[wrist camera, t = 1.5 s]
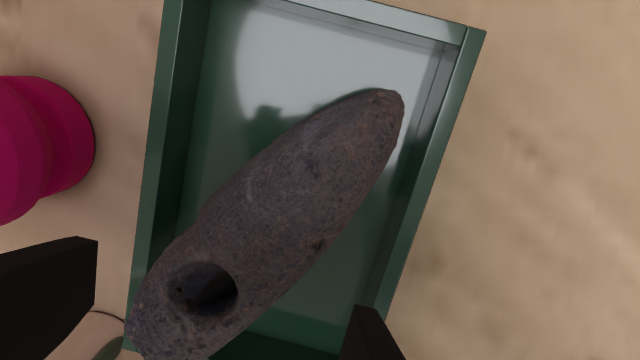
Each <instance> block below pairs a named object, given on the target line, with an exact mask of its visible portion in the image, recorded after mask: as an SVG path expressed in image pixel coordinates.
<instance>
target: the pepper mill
mask: <svg viewBox="0 0 640 360" xmlns="http://www.w3.org/2000/svg"><path fill="white" fill-rule="evenodd" d="M94 149H95V147H94V136H93V132H92V129H91V125H90V121H89V120H88V118H87V116H86V114H85V113H84V111H83V109H82V108H81V106H80V104H79V103H78V102H77V101H76V100H75V99H74V98H73V97H72V96H71V95H70V94H69V93H68V92H66V91H65V90H64V89H62V88H61V87H59V86H58V85H56V84H54V83H52V82H50V81H48V80H45V79H42V78H38V77H32V76H0V226H1V225H4V224H7V223H9V222H11V221H13V220H16V219H17V218H19V217H21V216H23V215H24V214H25V213H26V212H27V211H29V210H30V209H31V208H32V207H33V206H34V205H35V204H36V202H37V201H38V200H39V199H41V198H44V197H47V196H50V195H52V194H55V193H58V192H61V191H63V190H66V189H69V188H71V187H72V186H74V185H75V184H77V183H79V182H80V180H81V179H82V178H83V177H84V176H85V175H86V174H87V172H88V170H89V169H90V167H91V164H92V160H93V155H94Z"/></svg>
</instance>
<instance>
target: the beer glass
mask: <svg viewBox="0 0 640 360" xmlns="http://www.w3.org/2000/svg"><path fill="white" fill-rule="evenodd" d="M124 324H125V323H123V322H122V321H120V320H119V319H117V318H115V317H113V316H110V315H107V314H104V313H99V312H88V313H87V314H86V315H85V317H84V318H83V319H82V320H81V322H80V323H79V324H78V325H77V326H76V328H75V329H74V330H73V331H72V332H71V333H70V335H69V336H68V337H67V338H66V339H65V340H64V341H63V342H62V343H61V344H60V345H59V346H58V347H57V348H56V349H55V350H54V351H53V352H52V353H51V354H50V355H49V356H47V357H46V358H45V359H44V360H144V358H143V357H142V356H141V354H140V353H137V352H133V351H129V350H125V349H122V341H123V333H124Z"/></svg>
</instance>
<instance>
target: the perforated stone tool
mask: <svg viewBox="0 0 640 360" xmlns="http://www.w3.org/2000/svg"><path fill="white" fill-rule="evenodd" d="M404 109H405V105H404V101H403V100H402V97H401V95H400V94H399V93H397V91H395V90H387V89H374V90H369V91H365V92H361V93H358V94H355V95H352V96H350V97H347V98H345V99H342V100H340V101H338V102H336V103H333V104H331V105H329V106H327V107H325V108H323V109H321V110H320V111H318V112H316V113H314V114H312V115H310V116H309V117H307V118H305V119H303V120H301V121H300V122H298V123H297V124H295V125H293V126H292V127H291V128H289V129H288V130H287V131H285V132H284V133H283V134H281V135H280V136H279V137H277V138H276V139H275V140H274V141H273V142H272V143H271V144H270V145H269V146H267V147H265V148H264V149H263V150H262V151H260V152H259V153H258V154H257V155H255V156H254V157H253V158H252V159H251V160H249V161H248V162H247V163H246V164H245V165H244V166H243V167H241V168H240V169H239V170H238V171H237V172H236V173H235V174H234V175H232V176H231V177H230V178H229V179H228V180H227V181H226V182H225V183H224V184H223V185H221V186H220V187H219V188H218V189H217V190H216V191H215V192H214V193H213V194H212V195H211V196H210V197H209V198H208V200H207V201H206V202H205V205H204V206H203V207H202V208H201V210H200V214H199V215H198V217H197V219H196V221H195V223H194V224H192V225H191V226H190V227H189V228H188V229H187V230H185V231H184V232H183V233H181V234H180V235H178V236H177V237H176V238H175V239H174V240H173V241H172V242H171V243H170V244H169V245H168V246H167V247H166V248H165V250H164V251H163V253H162V255H161V256H160V257H159V258H158V259H157V260H156V261H155V263H154V264H153V266H152V268H151V270H150V271H149V272H148V273H147V274H146V275H145V277H144V279H143V280H142V282H141V285H140V287H139V289H138V291H137V293H136V294H135V297H134V302H133V306H132V308H131V311H130V314H129V317H128V319H127V320H126V322H125V324H124V331H125V333H126V335H127V337H128V338H129V339H130V340H131V342H132V343H133V345H134V346H135V347H136V348H137V349H139V351H140V354H141V356H142V357H143V358H144V360H205V359H206V358H208V357H209V356H211V355H212V354H214V353H215V352H217V351H218V350H219V349H221V348H222V347H223V346H225V345H226V344H227V343H228V342H230V341H231V340H232V339H234V338H235V337H236V336H237V335H239V334H240V333H241V332H242V331H244V330H245V329H246V328H247V327H248V326H249V325H251V324H252V323H253V322H254V321H255V320H257V319H258V318H259V317H260V316H261V315H262V314H263V313H264V312H265V311H267V310H268V309H269V308H270V307H271V306H272V305H273V304H274V303H275V302H276V301H277V300H278V299H279V298H280V297H281V296H283V295H284V294H285V293H286V292H287V291H288V290H289V289H290V288H291V287H292V286H294V285H295V283H296V282H298V281H299V279H300V278H301V277H302V276H303V275H304V274H305V273H306V272H307V271H308V270H309V269H310V268H311V267H312V266H313V265H314V264H315V262H316V261H317V260H318V259H319V258H320V257H321V256H322V255H323V254H324V252H325V251H326V250H327V249H328V248H329V247H330V245H331V244H332V243H333V242H334V241H335V239H336V238H337V237H338V236H339V234H340V233H341V232H342V230H343V229H344V228H345V227H346V225H347V224H348V223H349V221H350V220H351V219H352V217H353V216H354V214H355V213H356V211H357V210H358V208H359V207H360V205H361V204H362V202H363V201H364V200H365V198H366V197H367V195H368V194H369V192H370V190H371V189H372V187H373V185H374V183H375V182H376V181H377V179H378V178H379V176H380V175H381V173H382V171H383V169H384V168H385V166H386V164H387V162H388V160H389V158H390V156H391V154H392V152H393V151H394V148H396V145H397V140H398V137H399V133H400V130H401V126H402V121H403V117H404V114H405V112H404Z"/></svg>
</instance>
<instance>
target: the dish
mask: <svg viewBox="0 0 640 360" xmlns="http://www.w3.org/2000/svg"><path fill="white" fill-rule="evenodd" d="M486 33H487V32H486V31H485V30H482V29H478V28H474V27H470V26H468V27H467V26H466V25H464V24H460V23H456V22H452V21H448V20H444V19H441V18H437V17H433V16H429V15H425V14H421V13H418V12H414V11H410V10H406V9H402V8H399V7H395V6H391V5H387V4H383V3H379V2H376V1H372V0H164V6H163V14H162V22H161V30H160V38H159V47H158V55H157V63H156V71H155V79H154V88H153V96H152V104H151V112H150V120H149V129H148V137H147V145H146V153H145V161H144V169H143V178H142V186H141V194H140V202H139V210H138V219H137V227H136V235H135V243H134V251H133V260H132V268H131V276H130V284H129V292H128V301H127V309H126V317H125V322H126V320H127V319H128V317H129V314H130V311H131V308H132V306H133V302H134V297H135V294H136V293H137V291H138V289H139V287H140V285H141V282H142V280H143V279H144V277H145V275H146V274H147V273H148V272H149V271H150V270H151V268H152V266H153V264H154V263H155V261H156V260H157V259H158V258H159V257H160V256H161V255H162V253H163V251H164V250H165V248H166V247H167V246H168V245H169V244H170V243H171V242H172V241H173V240H174V239H175V238H176V237H177V236H178V235H180V234H181V233H183V232H184V231H185V230H187V229H188V228H189V227H190V226H191V225H192V224H194V223H195V221H196V219H197V217H198V215H199V214H200V210H201V208H202V207H203V206H204V205H205V202H206V201H207V200H208V198H209V197H210V196H211V195H212V194H213V193H214V192H215V191H216V190H217V189H218V188H219V187H220V186H221V185H223V184H224V183H225V182H226V181H227V180H228V179H229V178H230V177H231V176H232V175H234V174H235V173H236V172H237V171H238V170H239V169H240V168H241V167H243V166H244V165H245V164H246V163H247V162H248V161H249V160H251V159H252V158H253V157H254V156H255V155H257V154H258V153H259V152H260V151H262V150H263V149H264V148H265V147H267V146H269V145H270V144H271V143H272V142H273V141H274V140H275V139H276V138H277V137H279V136H280V135H281V134H283V133H284V132H285V131H287V130H288V129H289V128H291V127H292V126H293V125H295V124H297V123H298V122H300V121H301V120H303V119H305V118H307V117H309V116H310V115H312V114H314V113H316V112H318V111H320V110H321V109H323V108H325V107H327V106H329V105H331V104H333V103H336V102H338V101H340V100H342V99H345V98H347V97H350V96H352V95H355V94H358V93H361V92H365V91H369V90H374V89H387V90H395V91H397V93H399V94H400V95H401V97H402V100H403V101H404V105H405V109H404V112H405V114H404V117H403V121H402V126H401V130H400V133H399V137H398V140H397V145H396V148H394V151H393V152H392V154H391V156H390V158H389V160H388V162H387V164H386V166H385V168H384V169H383V171H382V173H381V175H380V176H379V178H378V179H377V181H376V182H375V183H374V185H373V187H372V189H371V190H370V192H369V194H368V195H367V197H366V198H365V200H364V201H363V202H362V204H361V205H360V207H359V208H358V210H357V211H356V213H355V214H354V216H353V217H352V219H351V220H350V221H349V223H348V224H347V225H346V227H345V228H344V229H343V230H342V232H341V233H340V234H339V236H338V237H337V238H336V239H335V241H334V242H333V243H332V244H331V245H330V247H329V248H328V249H327V250H326V251H325V252H324V254H323V255H322V256H321V257H320V258H319V259H318V260H317V261H316V262H315V264H314V265H313V266H312V267H311V268H310V269H309V270H308V271H307V272H306V273H305V274H304V275H303V276H302V277H301V278H300V279H299V281H298V282H296V283H295V285H294V286H292V287H291V288H290V289H289V290H288V291H287V292H286V293H285V294H284V295H283V296H281V297H280V298H279V299H278V300H277V301H276V302H275V303H274V304H273V305H272V306H271V307H270V308H269V309H268V310H267V311H265V312H264V313H263V314H262V315H261V316H260V317H259V318H258V319H257V320H255V321H254V322H253V323H252V324H251V325H249V326H248V327H247V328H246V329H245V330H244V331H242V332H241V333H240V334H239V335H237V336H236V337H235V338H234V339H232V340H231V341H230V342H228V343H227V344H226V345H225V346H223V347H222V348H221V349H219V350H218V351H217V352H215V353H214V354H212V355H211V356H209V357H208V358H206V359H205V360H338V357H339V354H340V350H341V347H342V344H343V341H344V337H345V334H346V331H347V327H348V324H349V321H350V318H351V314H352V311H353V308H354V304H358V305H362V306H366V307H370V308H374V309H377V311H378V312H379V314H380V316H381V318H382V319H383V321H384V322H385V319H386V316H387V313H388V310H389V308H390V305H391V302H392V299H393V296H394V293H395V291H396V288H397V285H398V282H399V279H400V276H401V274H402V271H403V268H404V265H405V262H406V259H407V257H408V254H409V251H410V248H411V245H412V243H413V240H414V237H415V234H416V231H417V228H418V226H419V223H420V220H421V217H422V214H423V211H424V209H425V206H426V203H427V200H428V197H429V195H430V192H431V189H432V186H433V183H434V180H435V178H436V175H437V172H438V169H439V166H440V163H441V161H442V158H443V155H444V152H445V149H446V146H447V144H448V141H449V138H450V135H451V132H452V130H453V127H454V124H455V121H456V118H457V115H458V113H459V110H460V107H461V104H462V101H463V98H464V96H465V93H466V90H467V87H468V84H469V81H470V79H471V76H472V73H473V70H474V67H475V65H476V62H477V59H478V56H479V53H480V50H481V48H482V45H483V42H484V39H485V36H486ZM122 349H125V350H129V351H133V352H137V353H140V351H139V349H137V348H136V347H135V346H134V345H133V343H132V342H131V340H130V339H129V338H128V337H127V335H126V333H125V331H124V333H123V341H122Z"/></svg>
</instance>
